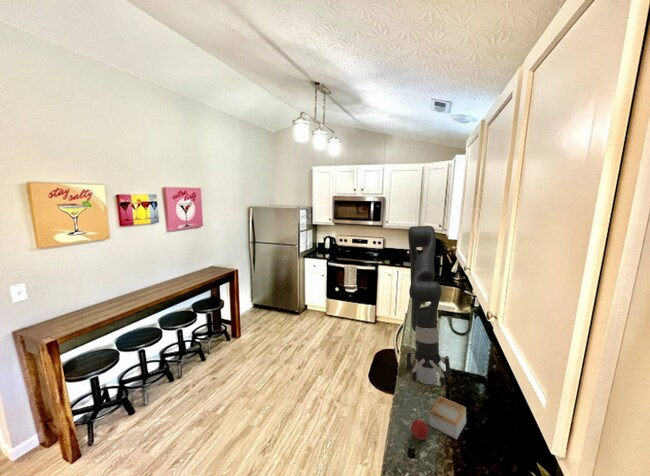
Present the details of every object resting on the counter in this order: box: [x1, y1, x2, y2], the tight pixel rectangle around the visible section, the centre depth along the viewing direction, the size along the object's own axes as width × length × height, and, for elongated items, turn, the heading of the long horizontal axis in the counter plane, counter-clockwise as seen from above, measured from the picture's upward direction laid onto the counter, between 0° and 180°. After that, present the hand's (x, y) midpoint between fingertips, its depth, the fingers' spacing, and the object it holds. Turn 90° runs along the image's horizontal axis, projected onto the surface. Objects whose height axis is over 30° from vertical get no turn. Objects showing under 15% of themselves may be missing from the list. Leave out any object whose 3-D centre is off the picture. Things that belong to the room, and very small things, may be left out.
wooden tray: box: [428, 395, 467, 440], centre depth 106 cm, size 13×10×6 cm
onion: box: [410, 418, 429, 441], centre depth 100 cm, size 6×6×8 cm
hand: (428, 384), depth 96 cm, fingers open, 8 cm apart
